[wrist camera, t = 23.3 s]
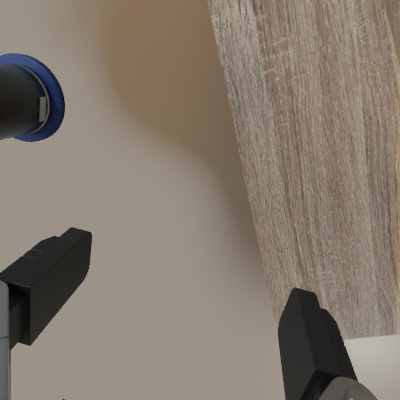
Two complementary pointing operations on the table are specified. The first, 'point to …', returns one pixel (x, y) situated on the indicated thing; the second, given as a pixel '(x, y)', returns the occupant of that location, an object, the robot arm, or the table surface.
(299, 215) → the table surface
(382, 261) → the table surface
